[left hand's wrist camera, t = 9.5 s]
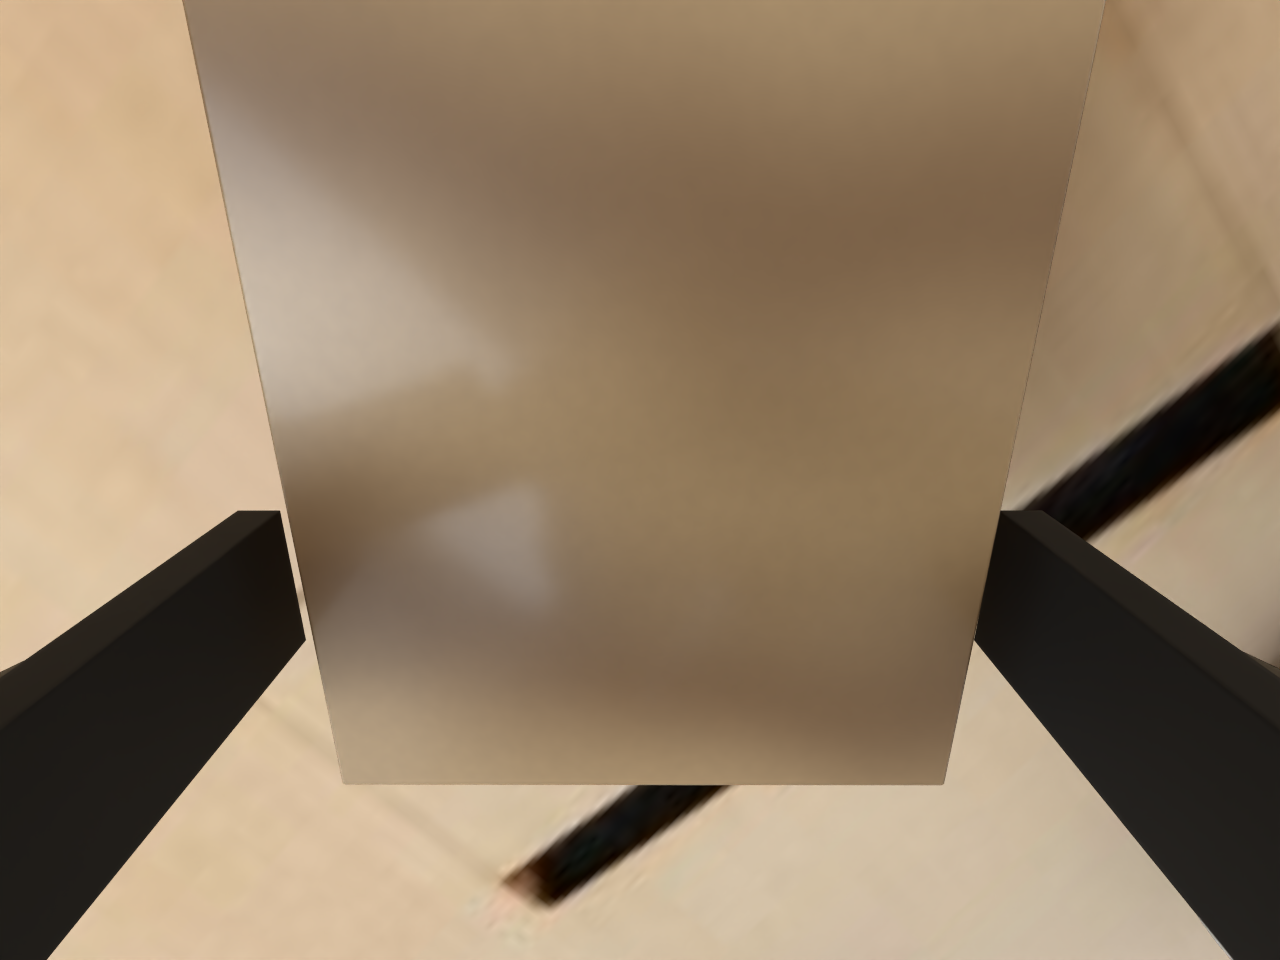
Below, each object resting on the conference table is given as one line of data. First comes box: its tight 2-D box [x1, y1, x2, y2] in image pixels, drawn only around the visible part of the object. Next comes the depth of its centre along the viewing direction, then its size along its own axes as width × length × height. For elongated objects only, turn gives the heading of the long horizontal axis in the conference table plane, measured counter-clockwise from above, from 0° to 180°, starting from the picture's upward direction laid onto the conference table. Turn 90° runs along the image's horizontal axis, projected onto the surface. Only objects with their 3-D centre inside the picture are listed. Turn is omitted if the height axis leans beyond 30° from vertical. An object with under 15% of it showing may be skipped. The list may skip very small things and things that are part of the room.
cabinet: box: [182, 0, 1106, 785], centre depth 13 cm, size 20×11×10 cm, turn 0°
